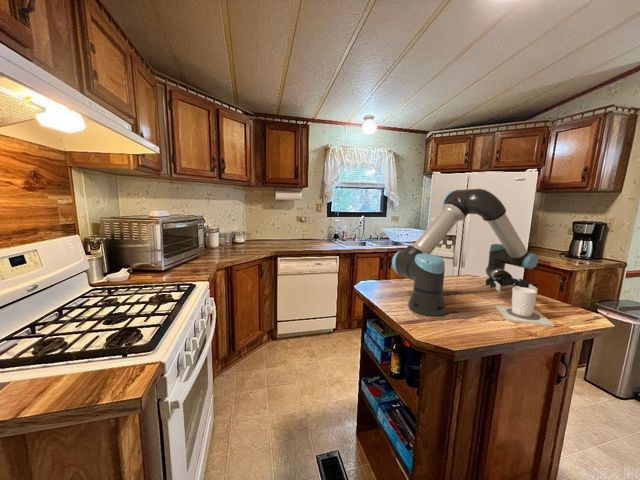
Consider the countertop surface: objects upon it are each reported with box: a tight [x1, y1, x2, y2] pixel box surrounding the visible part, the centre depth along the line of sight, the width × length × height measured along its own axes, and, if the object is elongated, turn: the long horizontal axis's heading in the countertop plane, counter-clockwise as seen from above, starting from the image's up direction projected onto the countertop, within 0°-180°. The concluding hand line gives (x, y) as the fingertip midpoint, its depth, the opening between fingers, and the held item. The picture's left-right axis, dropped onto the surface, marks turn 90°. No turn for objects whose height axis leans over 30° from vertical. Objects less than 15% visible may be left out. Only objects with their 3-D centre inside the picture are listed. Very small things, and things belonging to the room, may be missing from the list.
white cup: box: [511, 286, 538, 317], centre depth 107 cm, size 8×8×10 cm
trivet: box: [495, 304, 555, 327], centre depth 108 cm, size 15×15×1 cm
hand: (517, 289), depth 114 cm, fingers open, 13 cm apart
